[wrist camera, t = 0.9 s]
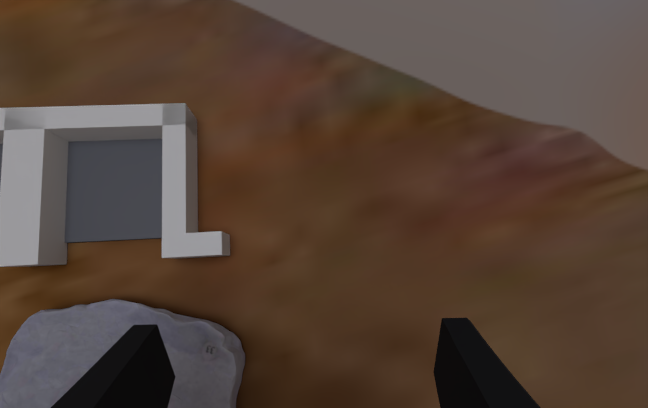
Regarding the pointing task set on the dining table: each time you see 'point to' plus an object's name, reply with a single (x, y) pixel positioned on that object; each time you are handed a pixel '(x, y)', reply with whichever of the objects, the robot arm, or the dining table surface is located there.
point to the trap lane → (99, 181)
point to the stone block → (100, 335)
